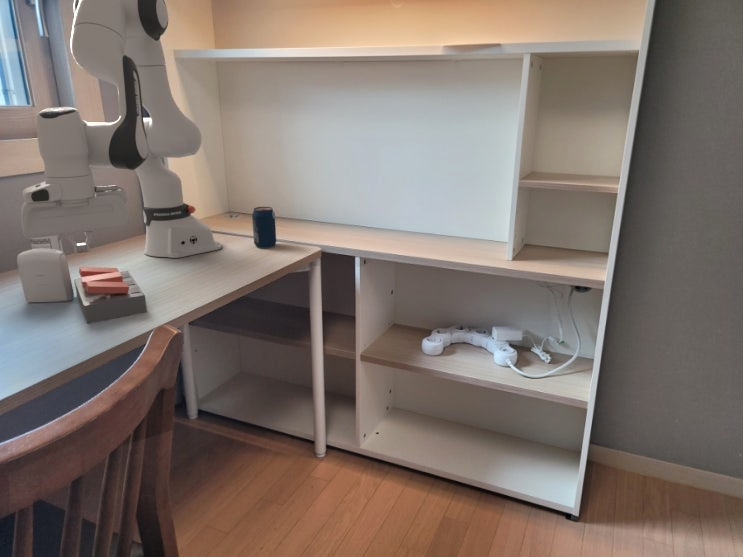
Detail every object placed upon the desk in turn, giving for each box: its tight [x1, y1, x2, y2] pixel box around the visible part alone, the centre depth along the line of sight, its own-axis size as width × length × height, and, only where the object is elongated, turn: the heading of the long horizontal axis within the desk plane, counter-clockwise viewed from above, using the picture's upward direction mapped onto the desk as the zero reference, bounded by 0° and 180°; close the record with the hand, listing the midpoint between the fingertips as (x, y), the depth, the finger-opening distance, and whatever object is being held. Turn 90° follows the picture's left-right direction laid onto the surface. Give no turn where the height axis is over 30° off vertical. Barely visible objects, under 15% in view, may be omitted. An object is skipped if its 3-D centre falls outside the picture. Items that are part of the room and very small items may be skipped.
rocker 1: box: [78, 266, 120, 278], centre depth 128 cm, size 8×4×1 cm, turn 123°
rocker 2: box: [80, 271, 123, 288], centre depth 123 cm, size 8×4×1 cm, turn 123°
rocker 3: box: [85, 281, 129, 293], centre depth 119 cm, size 8×4×1 cm, turn 123°
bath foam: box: [27, 235, 64, 252], centre depth 138 cm, size 7×7×20 cm
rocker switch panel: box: [73, 270, 148, 324], centre depth 125 cm, size 12×20×5 cm, turn 33°
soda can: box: [251, 206, 277, 249], centre depth 170 cm, size 7×7×12 cm
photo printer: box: [16, 248, 75, 303], centre depth 125 cm, size 10×4×12 cm, turn 95°
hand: (82, 252), depth 119 cm, fingers closed
